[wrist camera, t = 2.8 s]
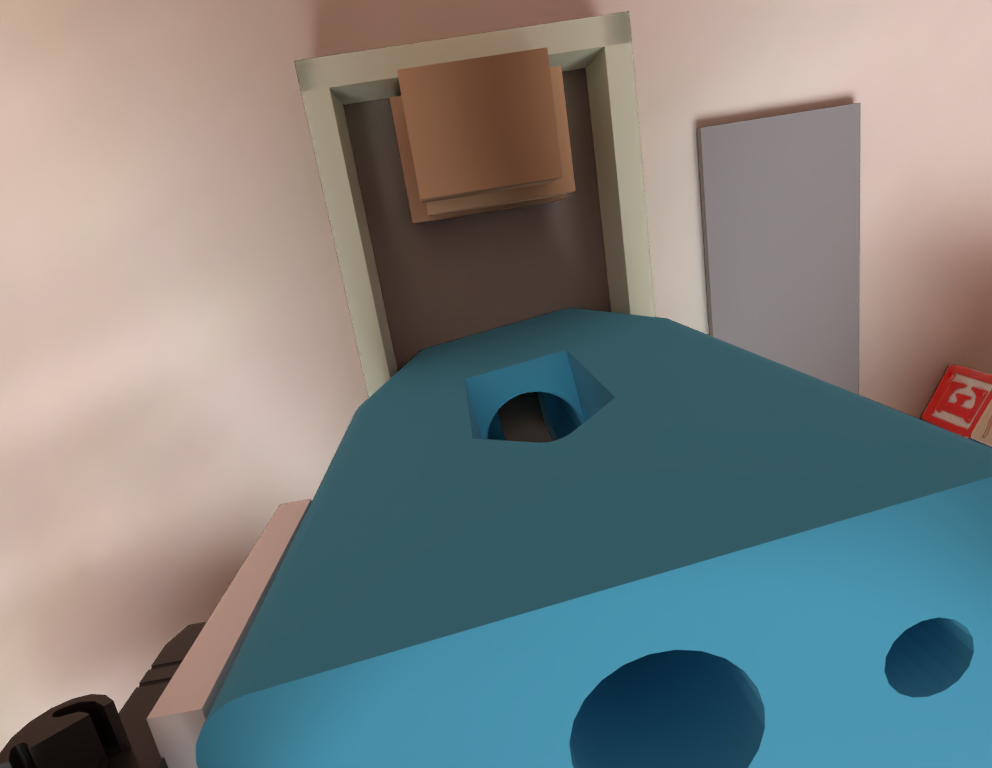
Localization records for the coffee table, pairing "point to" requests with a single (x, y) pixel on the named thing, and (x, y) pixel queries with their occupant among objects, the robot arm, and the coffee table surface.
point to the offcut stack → (483, 135)
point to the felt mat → (785, 238)
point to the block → (624, 571)
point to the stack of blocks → (963, 404)
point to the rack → (375, 71)
